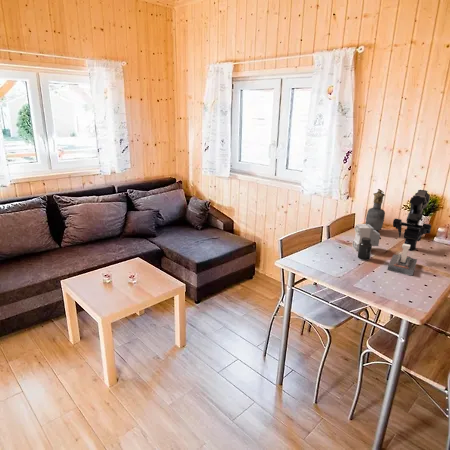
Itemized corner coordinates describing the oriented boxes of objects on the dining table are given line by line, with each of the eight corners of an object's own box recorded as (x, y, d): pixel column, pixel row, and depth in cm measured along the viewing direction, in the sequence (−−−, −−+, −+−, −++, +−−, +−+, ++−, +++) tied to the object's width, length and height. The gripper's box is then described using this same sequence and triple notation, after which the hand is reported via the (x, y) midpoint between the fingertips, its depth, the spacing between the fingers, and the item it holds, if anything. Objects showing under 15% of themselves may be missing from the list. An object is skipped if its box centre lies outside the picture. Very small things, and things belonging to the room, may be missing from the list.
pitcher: (362, 233, 239) (369, 190, 229) (367, 225, 254) (373, 185, 245) (379, 236, 234) (387, 193, 224) (383, 228, 249) (390, 187, 240)
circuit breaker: (380, 251, 208) (384, 228, 203) (356, 251, 208) (359, 227, 204) (375, 247, 215) (379, 224, 210) (352, 246, 215) (355, 223, 211)
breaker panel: (392, 259, 198) (394, 251, 197) (416, 264, 192) (417, 256, 191) (387, 269, 185) (388, 261, 183) (412, 275, 179) (414, 267, 177)
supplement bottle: (369, 256, 201) (372, 237, 197) (370, 261, 195) (373, 241, 191) (357, 255, 203) (360, 235, 199) (357, 259, 197) (360, 239, 193)
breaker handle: (399, 259, 190) (403, 243, 186) (407, 261, 188) (410, 244, 185) (399, 261, 187) (402, 245, 184) (406, 263, 185) (409, 246, 182)
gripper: (396, 204, 195) (389, 228, 189) (434, 210, 185) (428, 235, 180) (396, 215, 203) (389, 237, 198) (432, 221, 194) (426, 245, 188)
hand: (408, 238), depth 191 cm, fingers open, 8 cm apart
